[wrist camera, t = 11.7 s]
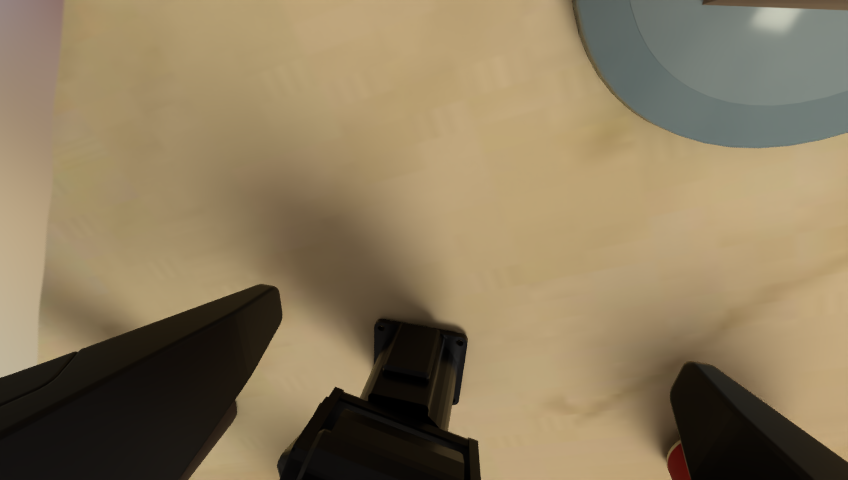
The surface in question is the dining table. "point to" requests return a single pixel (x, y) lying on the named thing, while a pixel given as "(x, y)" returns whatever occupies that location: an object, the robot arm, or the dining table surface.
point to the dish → (723, 68)
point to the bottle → (211, 441)
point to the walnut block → (784, 3)
